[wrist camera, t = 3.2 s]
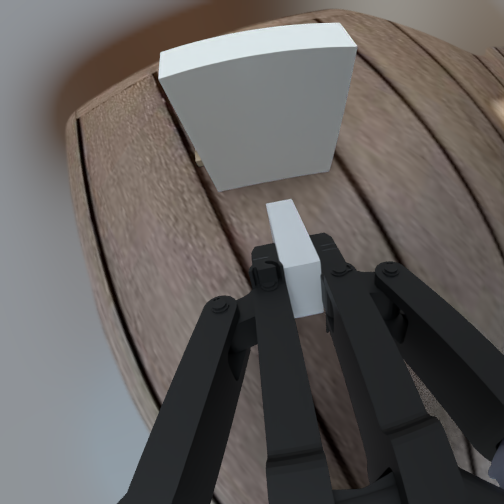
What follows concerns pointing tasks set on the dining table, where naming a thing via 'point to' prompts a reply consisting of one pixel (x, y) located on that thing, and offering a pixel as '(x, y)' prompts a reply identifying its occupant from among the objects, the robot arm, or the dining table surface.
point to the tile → (262, 100)
